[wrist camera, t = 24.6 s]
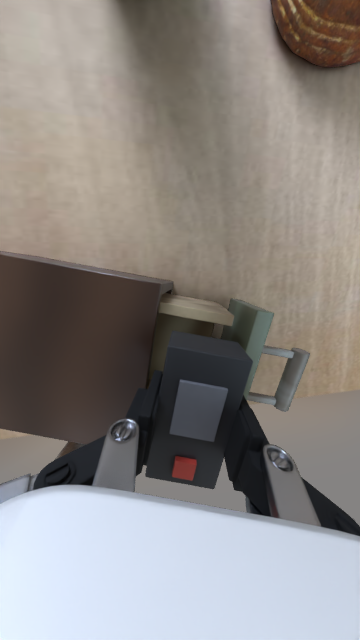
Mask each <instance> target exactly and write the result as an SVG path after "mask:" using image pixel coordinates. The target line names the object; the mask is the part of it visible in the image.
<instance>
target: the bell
mask: <svg viewBox="0 0 360 640" xmlns="http://www.w3.org/2000/svg"><path fill="white" fill-rule="evenodd" d="M271 4H272V11H273V15H274V18H275V21H276V24H277V26H278V28H279V31H280V34H281V36H282V38H283V39H284V40H285V41H286V43H287V45H288V46H289V47H290V49H291V51H293V52H294V53H295V54H297V55H299V56H301V57H303V58H305V59H306V60H308V61H310V62H311V63H313V64H315V65H318V66H324V67H338V66H345V65H349V64H352V63H355V62H359V61H360V0H271Z"/></svg>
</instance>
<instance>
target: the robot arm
mask: <svg viewBox="0 0 360 640" xmlns="http://www.w3.org/2000/svg"><path fill="white" fill-rule="evenodd" d="M162 376H163V371H158V370H155V371H154V374H153V376H152V379H151V382H150V385H149V388H148V389H144V388H138V390H137V392H136V394H135V397H134V399H133V401H132V403H131V405H130V408H129V410H128V412H127V414H126V417H125V418H120V419H118V420H116V421H114V422H113V423H112V424H111V425H110V426H109V428H108V431H107V434H106V435H105V436H103V437H101V438H99V439H97V440H95V441H93V442H91V443H89V444H87V445H85V446H83V447H81V448H79V449H77V450H74V451H72V452H70V453H68V454H66V455H64V456H62V457H60V458H58V459H56V460H54V461H53V462H51V463H49V464H48V465H47V466H46V467H45V468H43V469H42V470H41V472H40V473H39V474H36V475H33V476H31V474H27V475H24V476H21V477H19V478H16V479H13V480H10V481H8V482H5V483H2V484H0V640H360V527H359V525H358V524H357V523H356V522H355V521H354V520H353V519H352V518H351V517H350V516H349V515H348V514H346V513H345V512H344V511H343V510H342V509H340V508H339V507H338V506H337V505H335V504H334V503H333V502H332V501H330V500H329V499H328V498H327V497H325V496H324V495H323V494H322V493H320V492H319V491H318V490H317V489H315V488H314V487H313V486H312V485H310V484H309V483H308V482H307V481H305V480H304V479H303V478H302V477H301V476H300V473H299V471H298V468H297V466H296V464H295V462H294V460H293V459H292V457H291V456H290V455H289V454H288V453H287V452H286V451H284V450H283V449H282V448H280V447H278V446H276V445H272V444H269V442H268V440H267V438H266V436H265V434H264V432H263V430H262V428H261V426H260V424H259V422H258V420H257V418H256V416H255V414H254V412H253V410H252V409H251V408H250V407H249V405H248V403H247V401H246V399H245V397H244V395H243V397H242V400H241V403H240V407H239V410H237V414H236V417H235V420H234V423H233V427H232V430H231V433H230V436H229V440H228V443H227V446H226V449H225V453H224V457H225V462H226V467H227V472H228V477H229V480H230V481H232V482H233V487H234V490H236V491H242V492H243V493H244V494H245V495H246V510H247V512H241V511H236V510H230V509H225V508H220V507H214V506H209V505H203V504H197V503H192V502H186V501H181V500H175V499H169V498H164V497H157V496H153V495H147V494H141V493H136V492H134V491H135V478H136V476H137V475H138V474H140V473H141V471H142V467H143V465H146V466H147V463H148V458H149V454H150V449H151V445H152V440H153V434H154V428H155V422H156V417H157V411H158V405H159V400H160V396H159V393H160V387H161V382H162Z"/></svg>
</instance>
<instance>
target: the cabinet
mask: <svg viewBox="0 0 360 640" xmlns="http://www.w3.org/2000/svg"><path fill="white" fill-rule="evenodd" d="M172 288H173V281H168V280H162V279H157V278H152V277H146V276H141V275H135V274H130V273H124V272H119V271H114V270H108V269H103V268H97V267H92V266H86V265H81V264H76V263H70V262H65V261H59V260H54V259H49V258H43V257H38V256H31V255H24V254H17V253H11V252H4V251H0V429H6V430H11V431H16V432H22V433H27V434H33V435H38V436H43V437H49V438H54V439H59V440H65V441H70V442H76V443H81V444H86V445H87V444H89V443H91V442H93V441H95V440H97V439H99V438H101V437H103V436H105V435H106V434H107V431H108V428H109V426H110V425H111V424H112V423H113V422H114V421H116V420H118V419H120V418H125V417H126V414H127V412H128V410H129V408H130V405H131V403H132V401H133V399H134V397H135V394H136V392H137V390H138V388H144V389H147V387H148V380H149V374H150V367H151V361H152V354H153V347H154V341H155V334H156V327H157V321H158V314H159V308H160V301H161V295H162V294H164V293H168V294H172Z"/></svg>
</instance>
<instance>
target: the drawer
mask: <svg viewBox="0 0 360 640" xmlns="http://www.w3.org/2000/svg"><path fill="white" fill-rule="evenodd" d="M273 316H274V313H273V312H270V311H267V310H265V309H262V308H260V307H257V306H255V305H252V304H250V303H247V302H245V301H242V300H238V299H233V298H231V300H230V304H229V308H228V311H227V310H226V309H225V308H224V307H222V306H221V305H220V304H219V303H217V302H212V301H206V300H201V299H195V298H190V297H185V296H179V295H174V294H168V293H164V294H162V295H161V301H160V308H159V314H158V321H157V327H156V334H155V341H154V347H153V354H152V361H151V367H150V374H149V380H148V387H147V389H148V388H149V385H150V382H151V379H152V376H153V374H154V371H155V370H158V371H163V370H164V364H165V358H166V353H167V347H168V343H169V340H170V337H171V333H172V331H179V332H184V333H190V334H195V335H201V336H206V337H211V336H212V331H213V327H214V323H216V324H221V325H224V328H223V332H222V336H221V339H222V340H228V341H233V342H238V343H239V344H240V346H241V347H242V348H243V349H244V351H245V352H246V353H247V354H248V355H249V357H250V358H251V359H252V360H253V364H252V368H251V371H250V374H249V377H248V381H247V384H246V387H245V390H244V394H243V395H244V397H245V399H246V400H249V401H255V402H260V403H265V404H271V405H274V407H276V408H277V409H279V410H281V411H284V412H286V411H288V409H289V407H290V404H291V402H292V399H293V397H294V394H295V392H296V389H297V387H298V384H299V382H300V379H301V376H302V374H303V371H304V369H305V366H306V364H307V361H308V359H309V356H310V353H309V352H307V351H305V350H302V349H299V348H292V349H291V350H287V349H282V348H276V347H271V346H265V345H264V344H265V341H266V338H267V334H268V331H269V328H270V325H271V322H272V319H273ZM261 353H265V354H270V355H275V356H281V357H286V358H288V360H287V363H286V366H285V369H284V371H283V374H282V377H281V380H280V382H279V385H278V388H277V391H276V393H275V396H274V397H273V396H268V395H263V394H258V393H252V392H249V391H250V388H251V384H252V381H253V378H254V375H255V372H256V369H257V366H258V363H259V359H260V356H261Z"/></svg>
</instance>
